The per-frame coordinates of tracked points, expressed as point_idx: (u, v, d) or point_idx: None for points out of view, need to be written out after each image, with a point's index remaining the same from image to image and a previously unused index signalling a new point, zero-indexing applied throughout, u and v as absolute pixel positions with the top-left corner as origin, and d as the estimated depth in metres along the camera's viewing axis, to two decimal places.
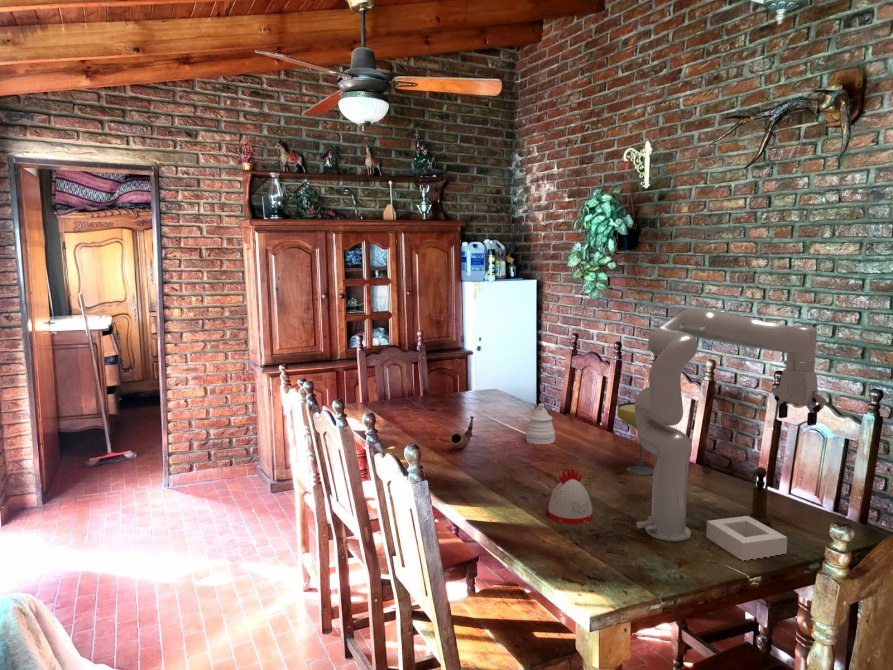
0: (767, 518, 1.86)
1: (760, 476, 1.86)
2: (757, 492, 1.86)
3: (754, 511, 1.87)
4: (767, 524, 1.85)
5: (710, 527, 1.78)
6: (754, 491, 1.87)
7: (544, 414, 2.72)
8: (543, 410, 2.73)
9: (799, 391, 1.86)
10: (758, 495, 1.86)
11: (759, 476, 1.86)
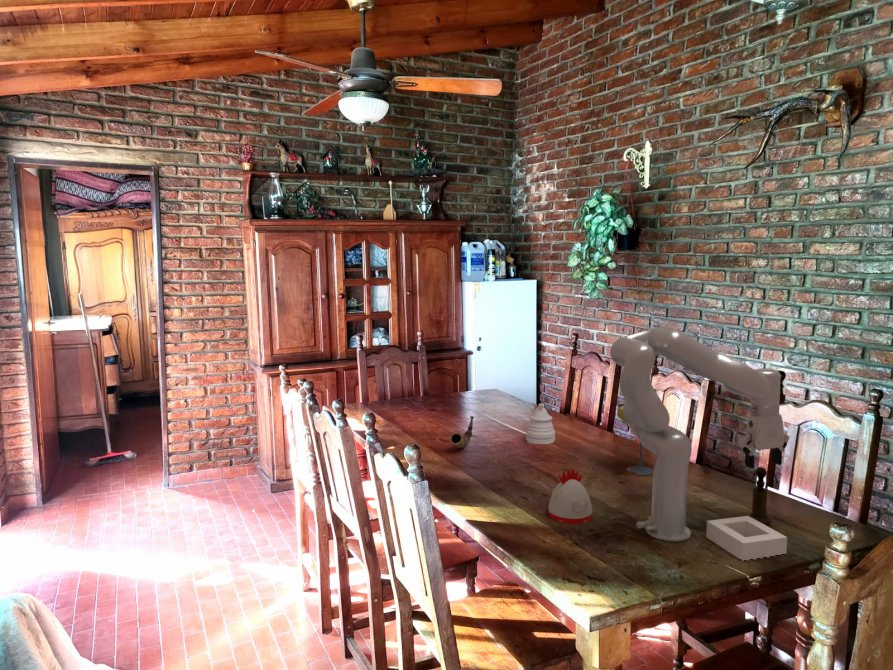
0: (767, 518, 1.86)
1: (760, 476, 1.86)
2: (757, 492, 1.86)
3: (754, 511, 1.87)
4: (767, 524, 1.85)
5: (710, 527, 1.78)
6: (754, 491, 1.87)
7: (544, 414, 2.73)
8: (543, 410, 2.73)
9: (777, 434, 1.83)
10: (758, 495, 1.86)
11: (759, 476, 1.86)
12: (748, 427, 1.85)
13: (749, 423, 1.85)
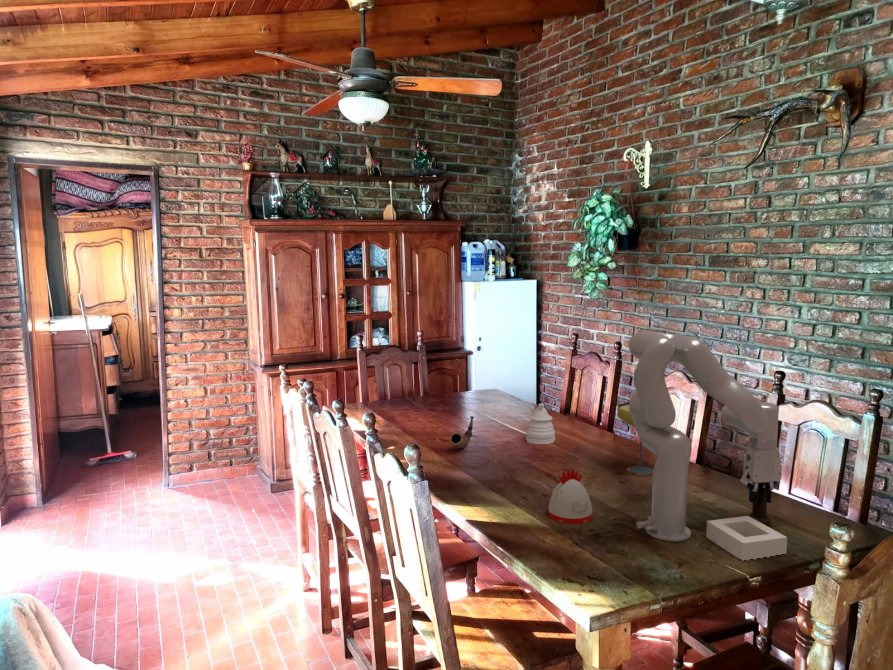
0: (767, 518, 1.86)
1: None
2: (758, 492, 1.86)
3: (754, 510, 1.87)
4: (767, 524, 1.85)
5: (710, 527, 1.78)
6: None
7: (544, 414, 2.72)
8: (543, 410, 2.73)
9: (775, 468, 1.84)
10: (758, 495, 1.86)
11: None
12: (746, 460, 1.86)
13: (747, 456, 1.86)
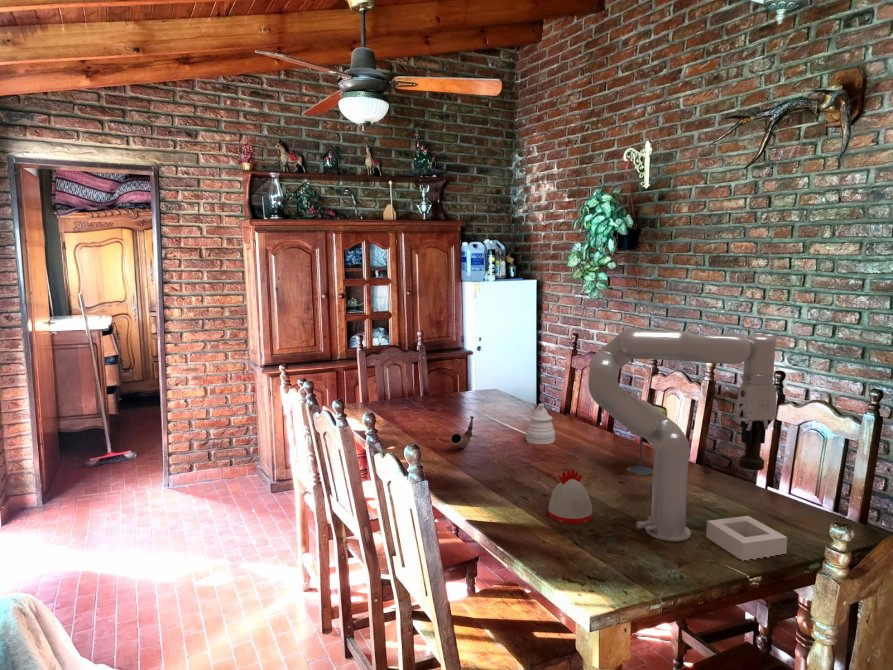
0: (761, 459, 1.74)
1: None
2: None
3: (747, 451, 1.75)
4: (761, 465, 1.73)
5: (710, 527, 1.78)
6: None
7: (544, 414, 2.72)
8: (543, 410, 2.73)
9: (770, 405, 1.72)
10: None
11: None
12: (739, 397, 1.74)
13: (740, 393, 1.74)
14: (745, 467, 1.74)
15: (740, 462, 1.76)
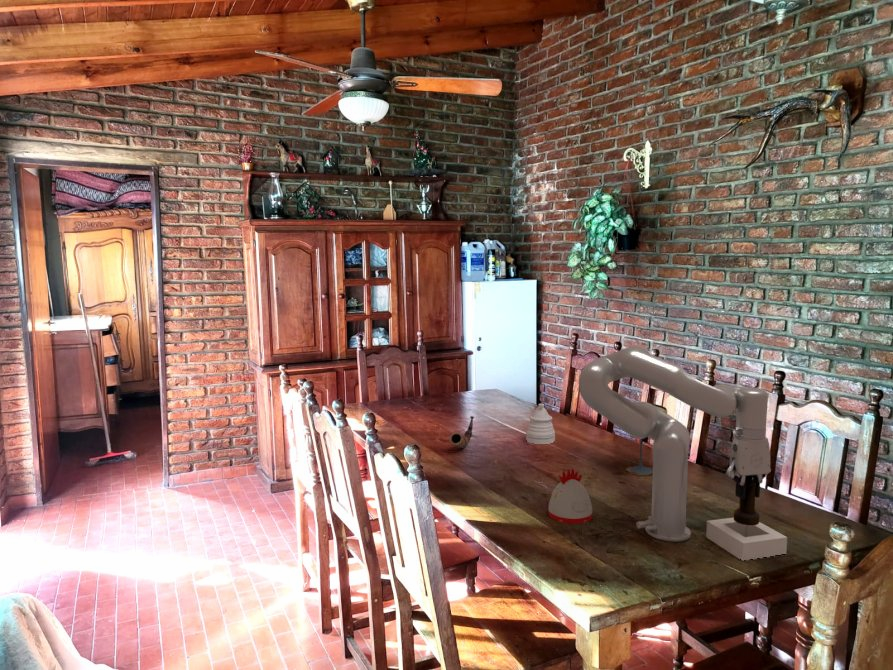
0: (755, 514, 1.71)
1: None
2: None
3: (742, 506, 1.72)
4: (755, 520, 1.71)
5: (710, 527, 1.78)
6: None
7: (544, 414, 2.72)
8: (543, 410, 2.73)
9: (763, 460, 1.70)
10: None
11: None
12: (732, 451, 1.71)
13: (733, 446, 1.71)
14: (739, 522, 1.72)
15: (735, 516, 1.73)
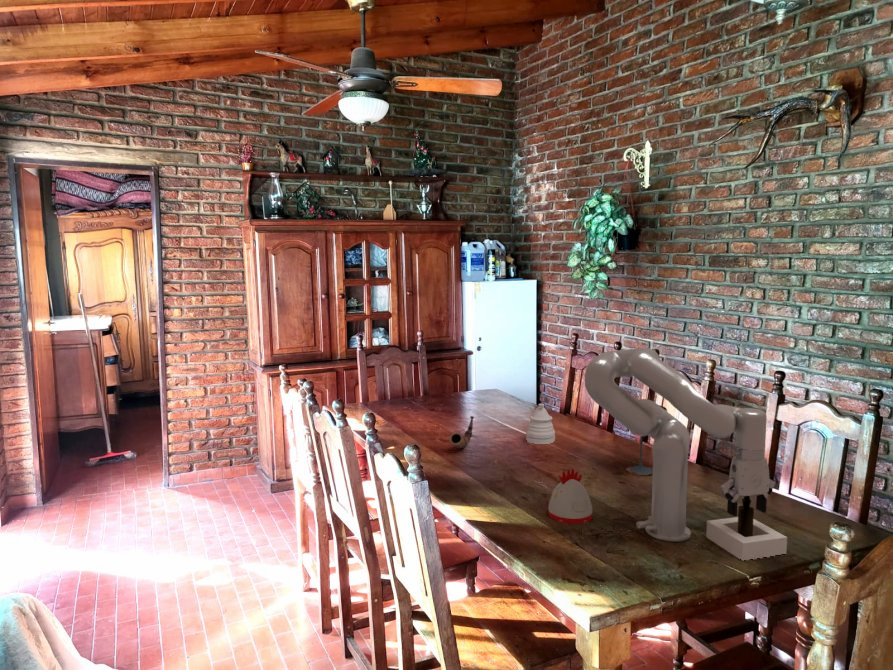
0: None
1: None
2: (743, 511, 1.72)
3: (740, 531, 1.73)
4: None
5: (710, 527, 1.78)
6: (740, 510, 1.73)
7: (544, 414, 2.72)
8: (543, 410, 2.73)
9: (762, 480, 1.70)
10: (743, 514, 1.72)
11: None
12: (731, 471, 1.72)
13: (732, 467, 1.72)
14: None
15: None
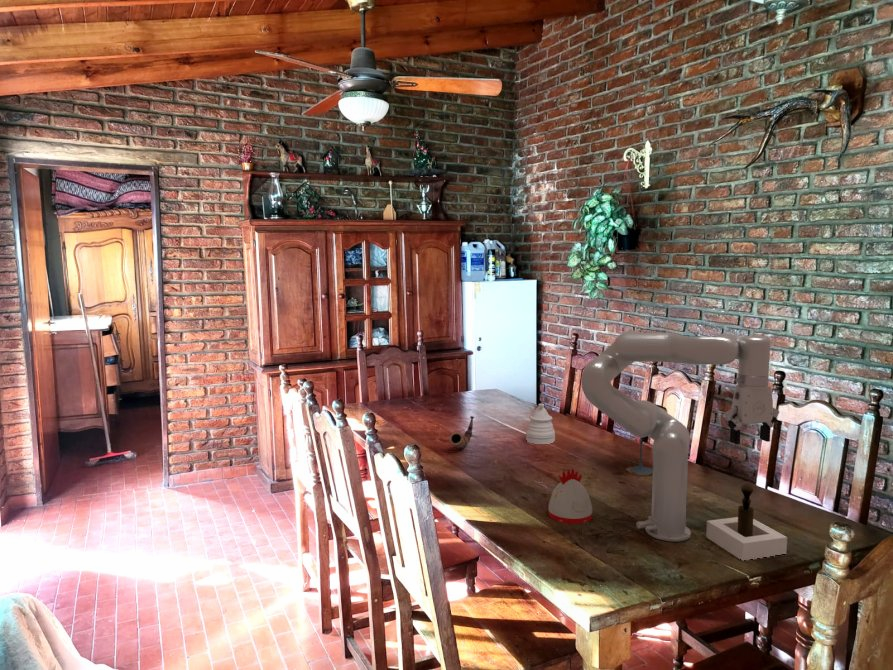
0: None
1: (746, 494, 1.72)
2: (743, 511, 1.72)
3: (740, 531, 1.73)
4: None
5: (710, 527, 1.78)
6: (739, 510, 1.73)
7: (544, 414, 2.72)
8: (543, 410, 2.73)
9: (766, 408, 1.68)
10: (743, 514, 1.72)
11: (745, 493, 1.72)
12: (734, 399, 1.70)
13: (735, 395, 1.70)
14: None
15: None
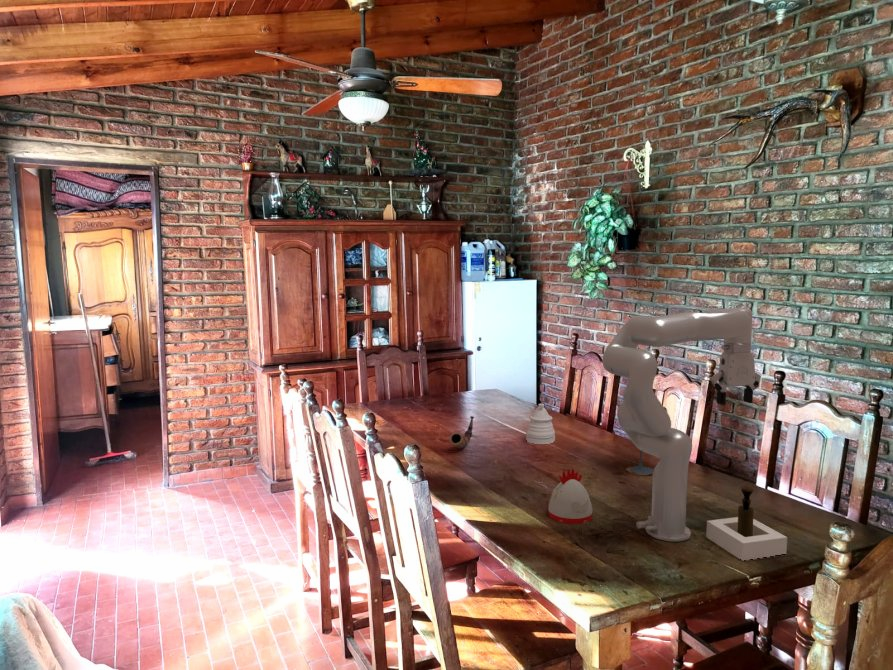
0: None
1: (746, 494, 1.72)
2: (743, 511, 1.72)
3: (740, 531, 1.73)
4: None
5: (710, 527, 1.78)
6: (739, 510, 1.73)
7: (544, 414, 2.72)
8: (543, 410, 2.73)
9: (748, 372, 1.88)
10: (743, 514, 1.72)
11: (745, 494, 1.72)
12: (720, 365, 1.90)
13: (721, 361, 1.90)
14: None
15: None
